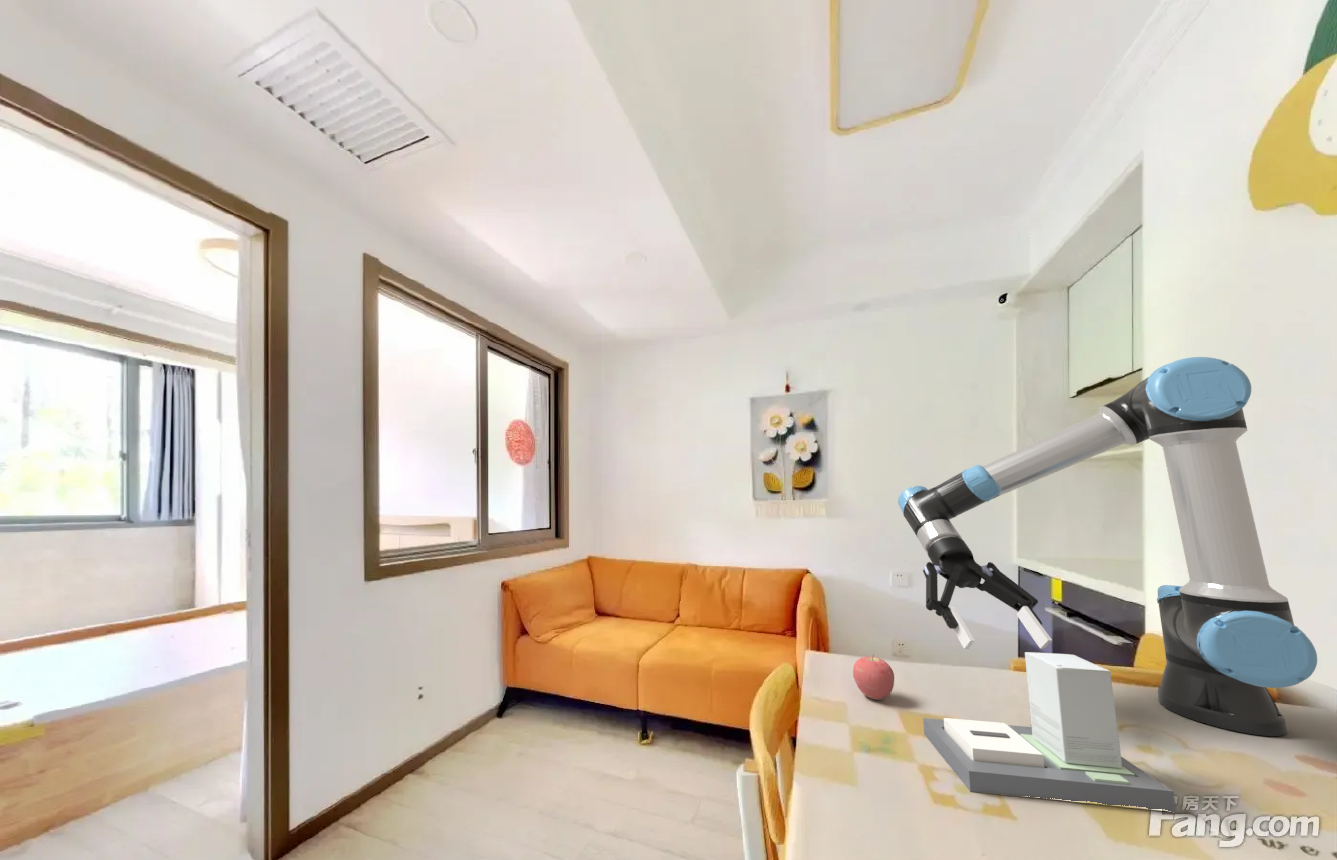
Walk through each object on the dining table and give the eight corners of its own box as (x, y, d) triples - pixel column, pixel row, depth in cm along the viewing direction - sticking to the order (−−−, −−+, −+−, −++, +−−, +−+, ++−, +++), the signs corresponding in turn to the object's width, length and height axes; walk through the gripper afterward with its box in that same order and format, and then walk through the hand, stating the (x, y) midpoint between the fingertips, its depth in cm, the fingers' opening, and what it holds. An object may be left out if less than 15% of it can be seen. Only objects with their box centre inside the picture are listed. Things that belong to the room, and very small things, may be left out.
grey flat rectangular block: (1085, 748, 72) (1082, 720, 72) (1176, 813, 57) (1171, 776, 58) (924, 734, 75) (922, 707, 76) (970, 791, 60) (967, 757, 61)
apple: (864, 686, 94) (862, 645, 95) (901, 698, 89) (899, 655, 90) (847, 696, 89) (845, 653, 90) (885, 709, 84) (883, 664, 85)
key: (1085, 753, 69) (1084, 739, 69) (1136, 791, 60) (1134, 774, 61) (1020, 747, 70) (1019, 733, 71) (1061, 783, 62) (1060, 767, 62)
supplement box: (1125, 770, 62) (1113, 671, 63) (1064, 764, 63) (1054, 667, 65) (1084, 741, 69) (1074, 653, 71) (1030, 736, 70) (1022, 650, 72)
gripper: (994, 558, 98) (1066, 655, 81) (881, 558, 97) (929, 656, 80) (1010, 535, 93) (1090, 632, 76) (892, 534, 93) (945, 633, 75)
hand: (1008, 645), depth 78 cm, fingers open, 13 cm apart
